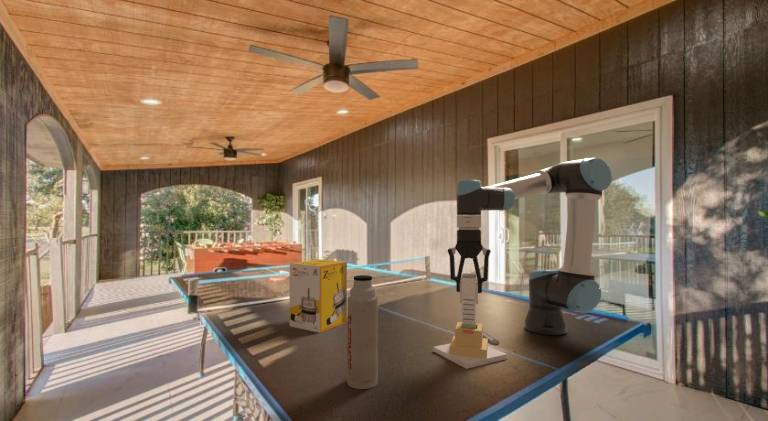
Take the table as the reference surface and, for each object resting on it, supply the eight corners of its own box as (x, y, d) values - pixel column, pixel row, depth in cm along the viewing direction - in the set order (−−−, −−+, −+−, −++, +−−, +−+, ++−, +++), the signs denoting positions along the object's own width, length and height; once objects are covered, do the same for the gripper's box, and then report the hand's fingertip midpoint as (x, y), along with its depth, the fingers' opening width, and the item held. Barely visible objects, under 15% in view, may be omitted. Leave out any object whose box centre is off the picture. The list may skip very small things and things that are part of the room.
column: (476, 328, 122) (476, 273, 122) (475, 332, 117) (475, 275, 118) (463, 327, 123) (462, 273, 123) (461, 331, 119) (461, 275, 119)
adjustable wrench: (501, 346, 130) (501, 340, 130) (483, 347, 129) (483, 341, 129) (472, 324, 155) (472, 320, 155) (457, 325, 154) (457, 321, 154)
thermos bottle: (347, 389, 96) (347, 278, 96) (347, 376, 104) (347, 273, 104) (378, 388, 97) (378, 278, 97) (376, 375, 105) (376, 273, 105)
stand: (506, 346, 128) (506, 319, 128) (507, 373, 106) (507, 341, 106) (438, 340, 134) (438, 314, 134) (427, 364, 113) (427, 333, 113)
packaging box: (346, 322, 156) (347, 261, 157) (320, 333, 143) (320, 266, 143) (317, 317, 165) (317, 259, 165) (289, 326, 151) (289, 263, 152)
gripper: (440, 229, 119) (440, 303, 119) (497, 229, 115) (497, 307, 114) (443, 228, 127) (443, 298, 126) (497, 228, 122) (497, 302, 121)
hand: (469, 302), depth 120 cm, fingers closed on column, 4 cm apart
